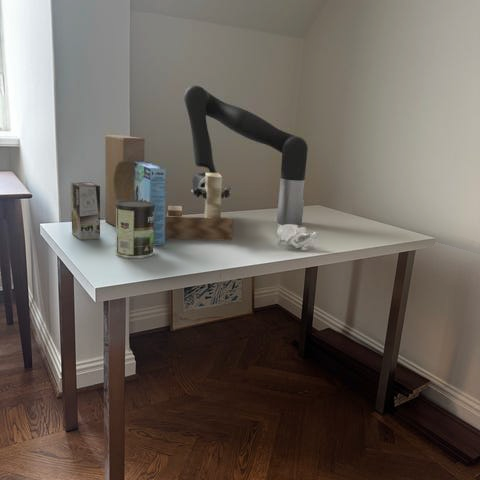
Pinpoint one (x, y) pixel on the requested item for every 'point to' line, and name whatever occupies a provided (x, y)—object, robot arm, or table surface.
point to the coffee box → (85, 210)
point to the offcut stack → (174, 211)
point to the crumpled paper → (295, 236)
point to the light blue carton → (152, 194)
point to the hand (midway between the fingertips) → (213, 195)
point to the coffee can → (134, 228)
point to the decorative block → (120, 170)
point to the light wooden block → (213, 195)
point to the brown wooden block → (198, 228)
